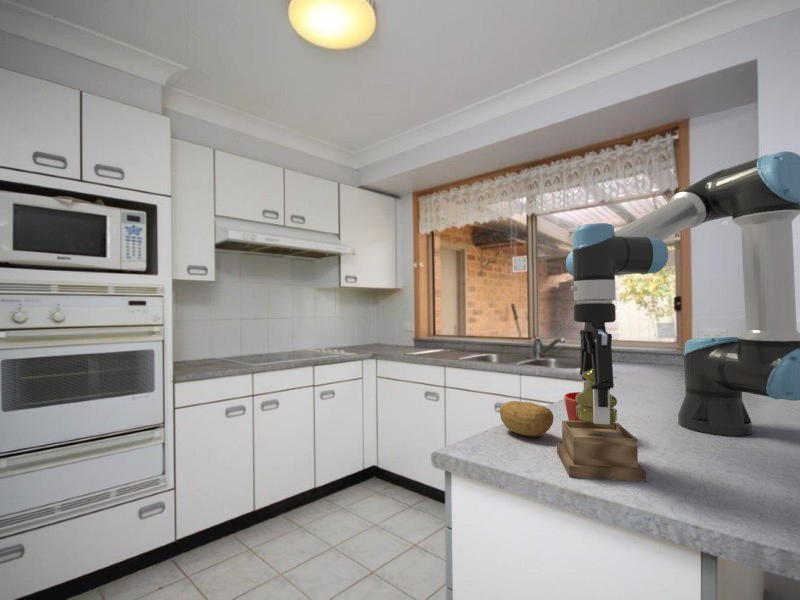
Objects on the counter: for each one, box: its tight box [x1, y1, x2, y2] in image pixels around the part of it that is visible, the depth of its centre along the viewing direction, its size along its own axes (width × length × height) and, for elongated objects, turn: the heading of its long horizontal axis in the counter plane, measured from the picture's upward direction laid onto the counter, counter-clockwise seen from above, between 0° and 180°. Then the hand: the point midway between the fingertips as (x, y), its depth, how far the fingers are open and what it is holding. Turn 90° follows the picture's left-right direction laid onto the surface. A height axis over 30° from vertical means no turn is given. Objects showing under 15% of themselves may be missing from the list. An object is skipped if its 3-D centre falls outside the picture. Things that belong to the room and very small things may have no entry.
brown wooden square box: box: [556, 419, 647, 482], centre depth 81 cm, size 13×13×7 cm
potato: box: [499, 400, 554, 438], centre depth 101 cm, size 10×14×8 cm
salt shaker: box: [576, 368, 618, 423], centre depth 81 cm, size 7×7×10 cm
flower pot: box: [563, 391, 582, 421], centre depth 99 cm, size 11×11×10 cm
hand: (595, 417), depth 81 cm, fingers closed on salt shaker, 7 cm apart
